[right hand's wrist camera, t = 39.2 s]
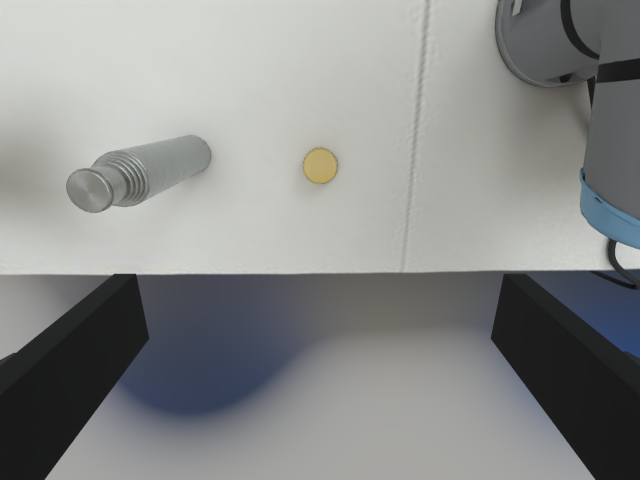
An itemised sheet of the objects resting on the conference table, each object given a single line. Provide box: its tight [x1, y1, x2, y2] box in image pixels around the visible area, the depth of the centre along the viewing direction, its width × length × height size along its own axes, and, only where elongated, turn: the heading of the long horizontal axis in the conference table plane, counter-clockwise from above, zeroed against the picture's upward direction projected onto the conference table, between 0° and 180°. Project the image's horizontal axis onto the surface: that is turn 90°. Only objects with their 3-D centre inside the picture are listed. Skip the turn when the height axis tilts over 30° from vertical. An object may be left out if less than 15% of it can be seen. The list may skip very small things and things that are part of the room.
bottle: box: [67, 136, 211, 213], centre depth 35 cm, size 4×4×22 cm
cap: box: [303, 147, 337, 184], centre depth 44 cm, size 4×4×2 cm
